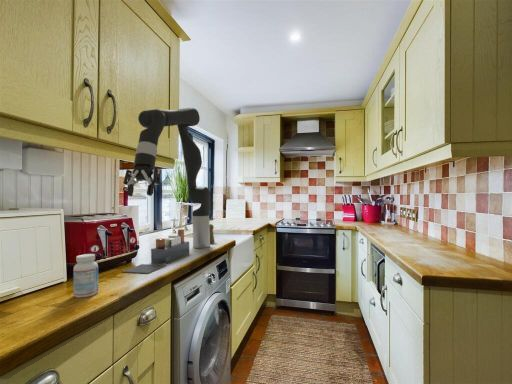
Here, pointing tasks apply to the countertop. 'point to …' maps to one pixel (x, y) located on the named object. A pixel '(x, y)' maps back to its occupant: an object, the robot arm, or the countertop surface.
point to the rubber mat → (143, 269)
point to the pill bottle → (85, 276)
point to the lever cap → (172, 240)
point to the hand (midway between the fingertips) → (139, 195)
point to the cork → (211, 233)
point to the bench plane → (169, 250)
